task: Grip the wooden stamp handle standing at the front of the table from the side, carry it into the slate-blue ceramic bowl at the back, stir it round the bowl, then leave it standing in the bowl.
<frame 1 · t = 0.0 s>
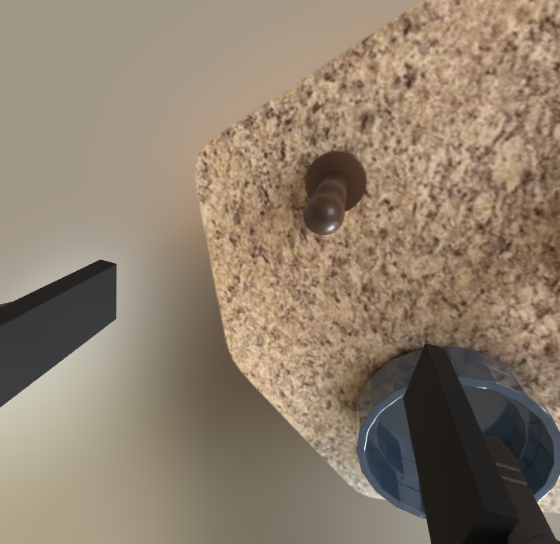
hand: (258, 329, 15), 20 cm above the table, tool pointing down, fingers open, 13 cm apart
wooden stamp handle: (336, 180, 31), on the table
bowl: (440, 414, 38), on the table
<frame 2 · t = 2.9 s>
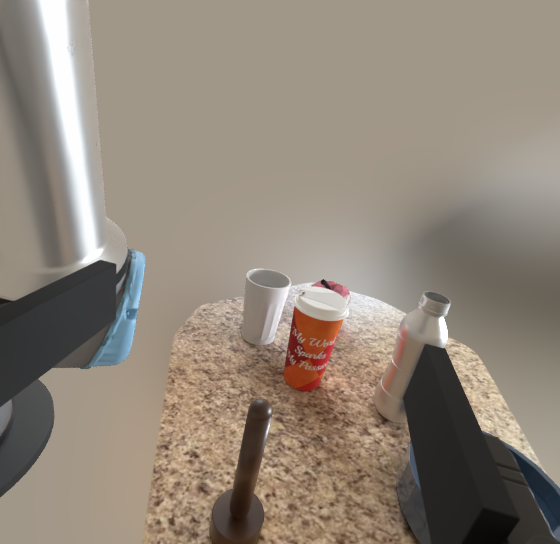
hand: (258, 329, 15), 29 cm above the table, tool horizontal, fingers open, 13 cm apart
wooden stamp handle: (235, 528, 35), on the table
cup: (257, 336, 66), on the table
apple: (321, 323, 75), on the table
bowl: (471, 518, 40), on the table
coffee cup: (301, 379, 57), on the table
silver water bottle: (390, 412, 54), on the table
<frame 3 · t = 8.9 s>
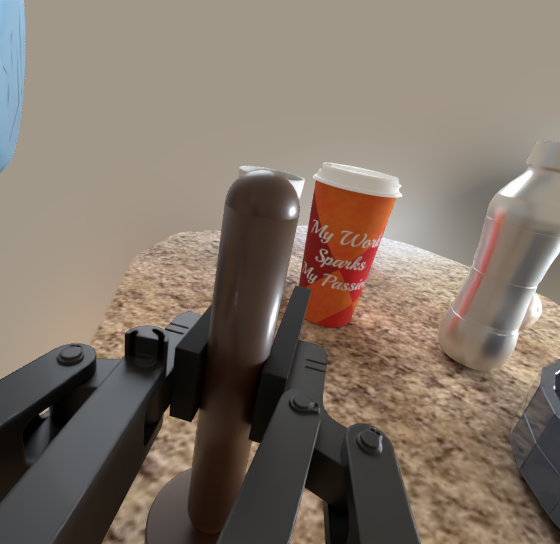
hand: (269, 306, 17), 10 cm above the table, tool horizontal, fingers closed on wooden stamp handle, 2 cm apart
cup: (256, 265, 47), on the table
garlic bulb: (493, 327, 43), on the table
coffee cup: (323, 313, 38), on the table
silver water bottle: (464, 359, 35), on the table
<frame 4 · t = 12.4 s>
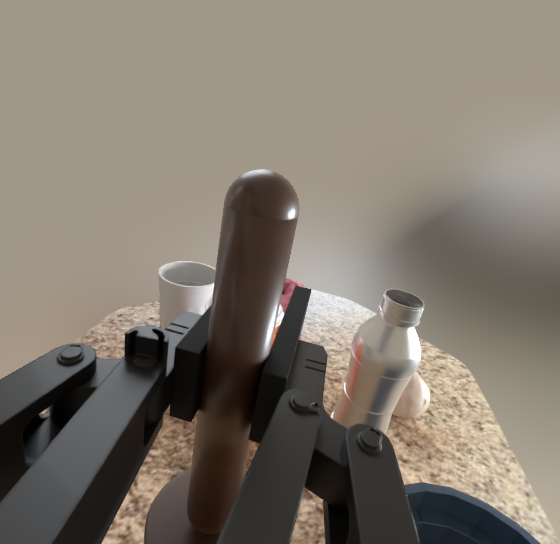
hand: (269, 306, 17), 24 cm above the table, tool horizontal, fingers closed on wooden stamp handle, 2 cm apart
cup: (182, 349, 51), on the table
garlic bulb: (393, 411, 47), on the table
apple: (273, 330, 60), on the table
silver water bottle: (346, 458, 39), on the table
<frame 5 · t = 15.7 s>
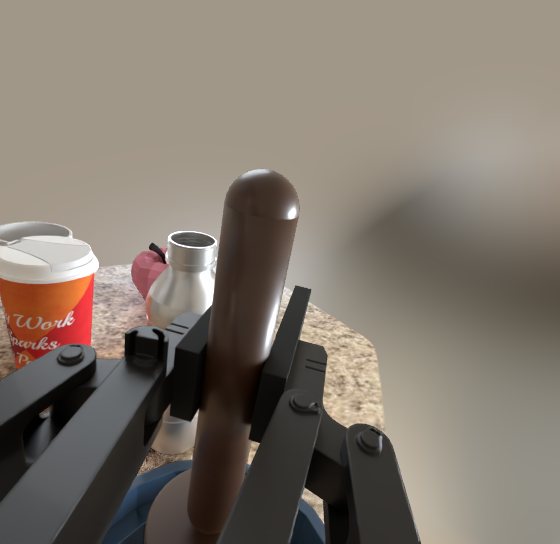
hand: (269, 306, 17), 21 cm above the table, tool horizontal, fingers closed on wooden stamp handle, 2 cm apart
cup: (40, 320, 46), on the table
apple: (162, 305, 55), on the table
coffee cup: (57, 382, 37), on the table
silver water bottle: (174, 435, 34), on the table
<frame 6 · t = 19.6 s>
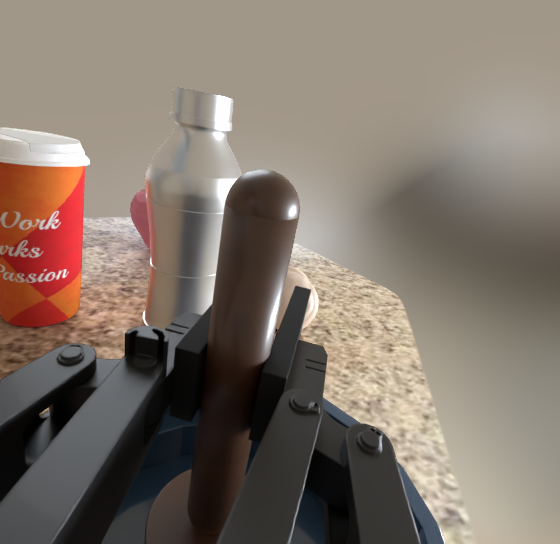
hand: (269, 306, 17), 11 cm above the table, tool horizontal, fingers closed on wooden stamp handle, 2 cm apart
garlic bulb: (278, 327, 37), on the table
apple: (164, 251, 50), on the table
coffee cup: (42, 311, 32), on the table
silver water bottle: (179, 366, 29), on the table
when the fingers open (10 cm above the table, at t = 22.6 s): wooden stamp handle stays where it is, resting on bowl.
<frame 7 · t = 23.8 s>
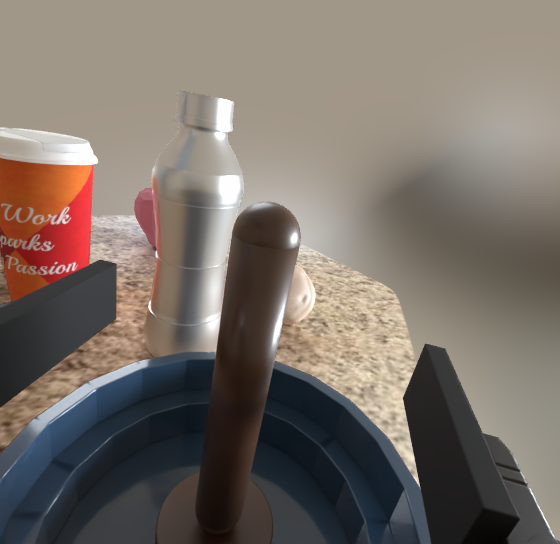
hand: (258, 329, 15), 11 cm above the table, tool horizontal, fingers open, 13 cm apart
garlic bulb: (277, 319, 39), on the table
apple: (167, 248, 52), on the table
coffee cup: (52, 303, 34), on the table
silver water bottle: (183, 354, 30), on the table
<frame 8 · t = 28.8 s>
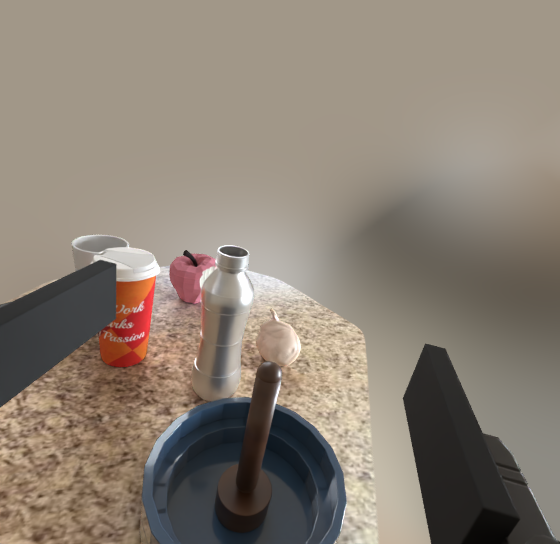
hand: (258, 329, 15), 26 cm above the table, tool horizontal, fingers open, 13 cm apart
wooden stamp handle: (241, 504, 33), point 1 cm above the table, touching bowl
cup: (101, 311, 59), on the table
garlic bulb: (274, 361, 56), on the table
apple: (192, 300, 68), on the table
bowl: (240, 509, 34), on the table
coffee cup: (124, 355, 51), on the table
silver water bottle: (214, 391, 47), on the table
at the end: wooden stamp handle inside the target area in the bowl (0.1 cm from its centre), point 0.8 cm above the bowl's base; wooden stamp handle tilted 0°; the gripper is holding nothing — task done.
